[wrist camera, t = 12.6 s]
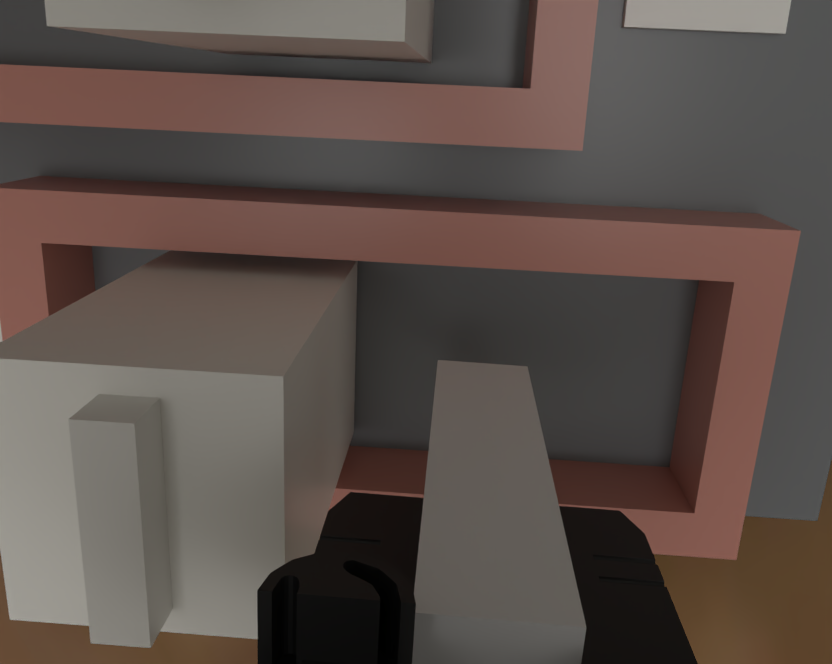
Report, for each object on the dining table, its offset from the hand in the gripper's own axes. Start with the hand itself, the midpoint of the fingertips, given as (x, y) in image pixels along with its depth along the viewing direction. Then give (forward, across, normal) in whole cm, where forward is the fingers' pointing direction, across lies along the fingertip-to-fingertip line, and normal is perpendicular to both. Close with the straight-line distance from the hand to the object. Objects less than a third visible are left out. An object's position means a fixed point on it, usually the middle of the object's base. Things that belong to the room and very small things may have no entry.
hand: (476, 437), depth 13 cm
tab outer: (+4, -5, 0) cm, 6 cm away
